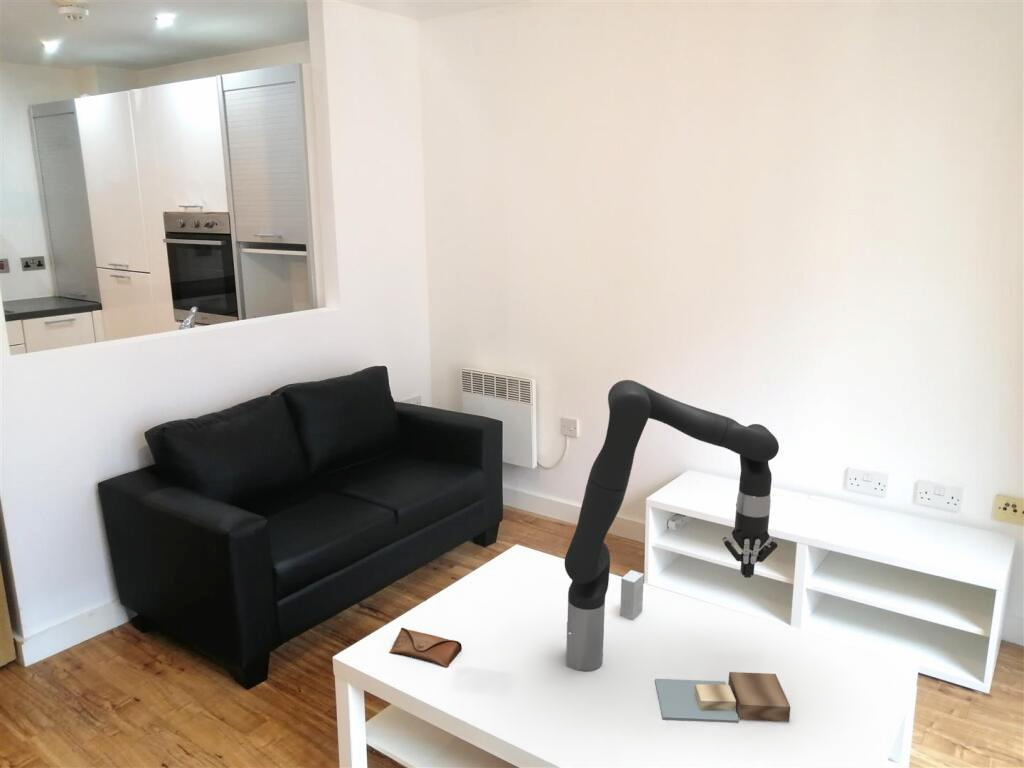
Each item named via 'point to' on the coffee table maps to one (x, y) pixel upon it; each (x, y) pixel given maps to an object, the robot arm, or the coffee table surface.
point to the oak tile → (715, 697)
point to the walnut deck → (759, 697)
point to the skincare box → (631, 594)
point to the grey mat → (687, 702)
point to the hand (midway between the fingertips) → (746, 576)
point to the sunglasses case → (426, 647)
